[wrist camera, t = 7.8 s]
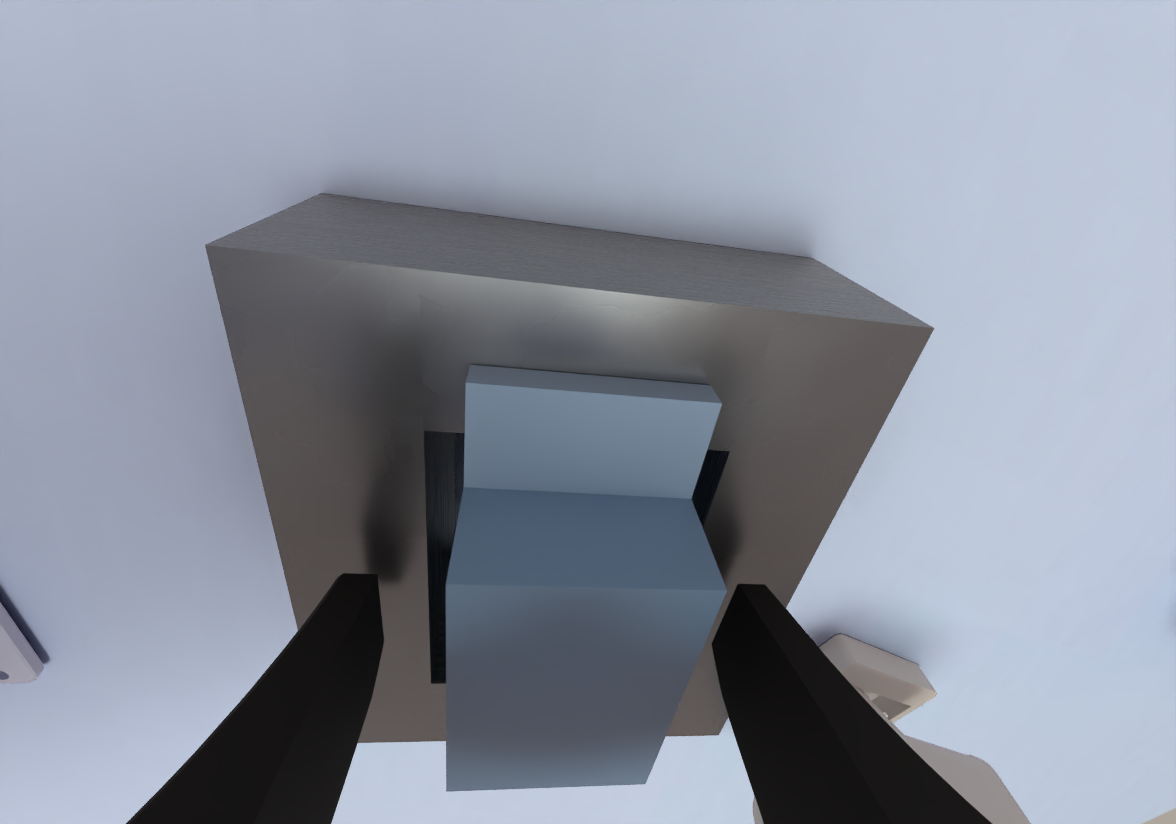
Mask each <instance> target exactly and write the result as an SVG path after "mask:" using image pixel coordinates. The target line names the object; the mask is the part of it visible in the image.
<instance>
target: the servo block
mask: <svg viewBox="0 0 1176 824" xmlns="http://www.w3.org/2000/svg"><path fill="white" fill-rule="evenodd" d="M721 406H722V402H721V401H720V399H719V397H718V396H717V394H716V393H715V391H714V389H713V388H712V386H711V385H700V384H689V383H677V382H666V381H654V380H643V379H631V378H620V377H608V376H597V375H585V374H574V373H562V372H551V371H539V370H527V369H516V368H504V367H493V366H481V365H470V367H469V371H468V375H467V379H466V392H465V441H464V488H463V493H462V499H461V504H460V509H459V515H458V520H457V526H456V531H455V537H454V542H453V547H452V553H451V558H450V564H449V569H448V575H447V580H446V791H471V790H498V789H525V788H552V787H579V786H607V785H634V784H645V783H646V781H647V779H648V776H649V774H650V772H651V769H652V767H653V765H654V762H655V760H656V758H657V755H658V753H659V750H660V748H661V746H662V743H663V741H664V739H665V736H666V734H667V732H668V729H669V727H670V724H671V722H672V720H673V717H674V715H675V713H676V710H677V708H678V706H679V703H680V701H681V698H682V696H683V694H684V691H685V689H686V687H687V684H688V682H689V680H690V677H691V675H692V673H693V670H694V668H695V665H696V663H697V661H698V658H699V656H700V654H701V651H702V649H703V647H704V644H705V642H706V639H707V637H708V635H709V632H710V630H711V628H712V625H713V623H714V621H715V618H716V616H717V613H718V611H719V609H720V606H721V604H722V602H723V599H724V597H725V595H726V592H727V589H726V586H725V584H724V581H723V579H722V576H721V574H720V571H719V568H718V566H717V563H716V561H715V558H714V556H713V553H712V551H711V548H710V545H709V543H708V540H707V538H706V535H705V533H704V530H703V527H702V525H701V522H700V520H699V517H698V515H697V512H696V510H695V507H694V504H693V502H692V499H691V498H692V495H693V492H694V489H695V486H696V483H697V480H698V477H699V474H700V471H701V467H702V464H703V461H704V458H705V455H706V452H707V449H708V446H709V443H710V440H711V437H712V433H713V430H714V427H715V424H716V421H717V418H718V415H719V412H720V409H721Z"/></svg>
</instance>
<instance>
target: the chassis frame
mask: <svg viewBox="0 0 1176 824" xmlns="http://www.w3.org/2000/svg"><path fill="white" fill-rule="evenodd" d="M205 246H206V251H207V255H208V259H209V263H210V267H211V271H212V275H213V280H214V284H215V288H216V292H217V296H218V300H219V304H220V309H221V313H222V317H223V321H224V325H225V329H226V333H227V338H228V342H229V346H230V350H231V354H232V358H233V362H234V367H235V371H236V375H237V379H238V383H239V387H240V391H241V396H242V400H243V404H244V408H245V412H246V416H247V420H248V425H249V429H250V433H251V437H252V441H253V445H254V449H255V454H256V458H257V462H258V466H259V470H260V474H261V478H262V483H263V487H264V491H265V495H266V499H267V503H268V507H269V512H270V516H271V520H272V524H273V528H274V532H275V536H276V541H277V545H278V549H279V553H280V557H281V561H282V565H283V570H284V574H285V578H286V582H287V586H288V590H289V594H290V599H291V603H292V607H293V611H294V615H295V619H296V623H297V628H298V630H299V629H300V628H301V627H302V625H303V624H304V623H305V621H306V620H307V619H308V617H309V616H310V615H311V613H312V612H313V611H314V609H315V608H316V607H317V605H318V604H319V603H320V601H321V600H322V598H323V597H324V596H325V594H326V593H327V592H328V590H329V589H330V587H331V586H332V584H333V583H334V582H335V580H336V579H337V577H339V576H340V575H341V574H343V573H355V574H377V575H378V585H379V595H380V604H381V614H382V624H383V633H384V645H383V650H382V655H381V659H380V664H379V669H378V673H377V678H376V682H375V687H374V691H373V695H372V699H371V702H370V706H369V709H368V712H367V715H366V718H365V721H364V724H363V727H362V731H361V734H360V737H359V740H358V743H372V742H419V741H446V580H447V575H448V569H449V564H450V558H451V553H452V547H453V542H454V537H455V469H456V433H465V392H466V379H467V375H468V371H469V367H470V365H481V366H493V367H504V368H516V369H527V370H539V371H551V372H562V373H574V374H585V375H597V376H608V377H620V378H631V379H643V380H654V381H666V382H677V383H689V384H700V385H711V386H712V388H713V389H714V391H715V393H716V394H717V396H718V397H719V399H720V401H721V402H722V406H721V409H720V412H719V415H718V418H717V421H716V424H715V427H714V430H713V433H712V437H711V440H710V443H709V446H708V449H707V452H706V455H705V458H704V461H703V464H702V467H701V471H700V474H699V477H698V480H697V483H696V486H695V489H694V492H693V495H692V498H691V499H692V502H693V504H694V507H695V510H696V512H697V515H698V517H699V520H700V522H701V525H702V527H703V530H704V533H705V535H706V538H707V540H708V543H709V545H710V548H711V551H712V553H713V556H714V558H715V561H716V563H717V566H718V568H719V571H720V574H721V576H722V579H723V581H724V584H725V586H726V589H727V592H726V595H725V597H724V599H723V602H722V604H721V606H720V609H719V611H718V613H717V616H716V618H715V621H714V623H713V625H712V628H711V630H710V632H709V635H708V637H707V639H706V642H705V644H704V647H703V649H702V651H701V654H700V656H699V658H698V661H697V663H696V665H695V668H694V670H693V673H692V675H691V677H690V680H689V682H688V684H687V687H686V689H685V691H684V694H683V696H682V698H681V701H680V703H679V706H678V708H677V710H676V713H675V715H674V717H673V720H672V722H671V724H670V727H669V729H668V732H667V734H666V736H704V735H719V733H720V731H721V730H722V728H723V726H724V724H725V722H726V720H727V718H728V713H727V710H726V707H725V703H724V700H723V697H722V693H721V689H720V684H719V680H718V675H717V670H716V665H715V660H714V655H713V650H712V644H711V643H712V641H713V639H714V637H715V634H716V632H717V630H718V628H719V625H720V623H721V621H722V618H723V616H724V614H725V612H726V609H727V607H728V605H729V602H730V600H731V598H732V596H733V593H734V591H735V589H736V586H737V584H765V585H766V586H767V587H768V588H769V590H770V591H771V592H772V593H773V594H774V595H775V597H776V598H777V599H778V600H779V601H780V602H781V604H782V605H783V606H784V607H785V608H786V607H787V605H788V603H789V601H790V599H791V598H792V596H793V594H794V592H795V590H796V588H797V586H798V584H799V582H800V581H801V579H802V577H803V575H804V573H805V571H806V569H807V567H808V565H809V564H810V562H811V560H812V558H813V556H814V554H815V552H816V550H817V548H818V547H819V545H820V543H821V541H822V539H823V537H824V535H825V533H826V531H827V530H828V528H829V526H830V524H831V522H832V520H833V518H834V516H835V515H836V513H837V511H838V509H839V507H840V505H841V503H842V501H843V499H844V498H845V496H846V494H847V492H848V490H849V488H850V486H851V484H852V482H853V481H854V479H855V477H856V475H857V473H858V471H859V469H860V467H861V465H862V464H863V462H864V460H865V458H866V456H867V454H868V452H869V450H870V448H871V447H872V445H873V443H874V441H875V439H876V437H877V435H878V433H879V432H880V430H881V428H882V426H883V424H884V422H885V420H886V418H887V416H888V415H889V413H890V411H891V409H892V407H893V405H894V403H895V401H896V399H897V398H898V396H899V394H900V392H901V390H902V388H903V386H904V384H905V382H906V381H907V379H908V377H909V375H910V373H911V371H912V369H913V367H914V365H915V364H916V362H917V360H918V358H919V356H920V354H921V352H922V350H923V349H924V347H925V345H926V343H927V341H928V339H929V337H930V335H931V333H932V332H933V330H934V328H933V327H931V326H930V325H928V324H926V323H924V322H923V321H921V320H919V319H917V318H916V317H914V316H912V315H911V314H909V313H907V312H905V311H904V310H902V309H900V308H898V307H897V306H895V305H893V304H892V303H890V302H888V301H886V300H885V299H883V298H881V297H879V296H878V295H876V294H874V293H872V292H871V291H869V290H867V289H866V288H864V287H862V286H860V285H859V284H857V283H855V282H853V281H852V280H850V279H848V278H847V277H845V276H843V275H841V274H840V273H838V272H836V271H834V270H833V269H831V268H829V267H827V266H826V265H824V264H822V263H821V262H819V261H817V260H815V259H814V258H806V257H799V256H791V255H784V254H776V253H768V252H761V251H753V250H746V249H738V248H731V247H723V246H715V245H708V244H700V243H693V242H685V241H678V240H670V239H662V238H655V237H647V236H640V235H632V234H625V233H617V232H609V231H602V230H594V229H587V228H579V227H572V226H564V225H556V224H549V223H541V222H534V221H526V220H519V219H511V218H504V217H496V216H488V215H481V214H473V213H466V212H458V211H451V210H443V209H435V208H428V207H420V206H413V205H405V204H398V203H390V202H382V201H375V200H367V199H360V198H352V197H345V196H337V195H329V194H322V193H321V194H319V195H316V196H314V197H312V198H310V199H307V200H305V201H303V202H301V203H298V204H296V205H294V206H292V207H289V208H287V209H285V210H283V211H280V212H278V213H276V214H274V215H271V216H269V217H267V218H265V219H263V220H260V221H258V222H256V223H254V224H251V225H249V226H247V227H245V228H242V229H240V230H238V231H236V232H233V233H231V234H229V235H227V236H224V237H222V238H220V239H218V240H215V241H213V242H211V243H209V244H206V245H205Z"/></svg>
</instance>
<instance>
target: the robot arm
mask: <svg viewBox="0 0 1176 824" xmlns="http://www.w3.org/2000/svg"><path fill="white" fill-rule="evenodd" d="M711 644H712V650H713V655H714V660H715V665H716V670H717V675H718V680H719V684H720V689H721V693H722V697H723V700H724V703H725V707H726V710H727V713H728V716H729V719H730V722H731V725H732V728H733V732H734V735H735V738H736V741H737V744H738V747H739V750H740V753H741V756H742V759H743V762H744V765H745V768H746V771H747V774H748V777H749V780H750V783H751V786H752V789H753V792H754V795H755V798H756V801H757V805H758V808H759V811H760V814H761V817H762V820H763V823H764V824H992V823H991V822H990V821H989V820H988V819H987V818H985V817H984V816H983V815H982V814H981V813H980V812H979V811H978V810H977V809H975V808H974V807H973V806H972V805H971V804H970V803H969V802H968V801H967V800H965V799H964V798H963V797H962V796H961V795H960V794H959V793H958V792H957V791H956V790H955V789H954V788H953V787H952V786H951V785H950V784H948V783H947V782H946V781H945V780H944V779H943V778H942V777H941V776H940V775H939V774H938V773H937V772H936V771H935V770H934V769H933V768H931V767H930V766H929V765H928V764H927V763H926V762H925V761H924V760H923V759H922V758H921V757H920V756H919V755H918V754H917V753H916V752H915V751H914V750H913V749H912V748H911V747H910V746H909V745H908V744H907V743H906V742H905V741H904V740H903V739H902V738H901V737H900V736H899V735H898V734H897V733H896V732H895V731H894V730H893V728H892V727H891V726H890V725H889V724H888V723H887V722H886V721H885V720H884V719H883V718H882V717H881V716H880V715H879V714H878V713H877V712H876V711H875V710H874V709H873V708H872V707H871V705H870V704H869V703H868V702H867V701H866V700H865V699H864V698H863V697H862V696H861V695H860V694H859V692H858V691H857V690H856V689H855V688H854V687H853V686H852V685H851V684H850V683H849V681H848V680H847V679H846V678H845V677H844V676H843V675H842V674H841V672H840V671H839V670H838V669H837V668H836V667H835V666H834V665H833V663H832V662H831V661H830V660H829V659H828V658H827V656H826V655H825V654H824V653H823V652H822V651H821V650H820V648H819V647H818V646H817V645H816V644H815V643H814V641H813V640H812V639H811V638H810V637H809V635H808V634H807V633H806V632H805V631H804V630H803V628H802V627H801V626H800V625H799V624H798V623H797V621H796V620H795V619H794V618H793V617H792V615H791V614H790V613H789V612H788V611H787V610H786V608H785V607H784V606H783V605H782V604H781V602H780V601H779V600H778V599H777V598H776V597H775V595H774V594H773V593H772V592H771V591H770V590H769V588H768V587H767V586H766V585H765V584H737V586H736V589H735V591H734V593H733V596H732V598H731V600H730V602H729V605H728V607H727V609H726V612H725V614H724V616H723V618H722V621H721V623H720V625H719V628H718V630H717V632H716V634H715V637H714V639H713V641H712V643H711ZM383 645H384V633H383V624H382V614H381V604H380V595H379V585H378V575H377V574H355V573H343V574H341V575H340V576H339V577H337V579H336V580H335V582H334V583H333V584H332V586H331V587H330V589H329V590H328V592H327V593H326V594H325V596H324V597H323V598H322V600H321V601H320V603H319V604H318V605H317V607H316V608H315V609H314V611H313V612H312V613H311V615H310V616H309V617H308V619H307V620H306V621H305V623H304V624H303V625H302V627H301V628H300V629H299V630H298V632H297V633H296V634H295V636H294V637H293V638H292V639H291V641H290V642H289V643H288V645H287V646H286V647H285V648H284V649H283V651H282V652H281V653H280V654H279V656H278V657H277V658H276V659H275V660H274V662H273V663H272V664H271V665H270V667H269V668H268V669H267V670H266V671H265V673H264V674H263V675H262V676H261V678H260V679H259V680H258V681H257V682H256V684H255V685H254V686H253V687H252V688H251V690H250V691H249V692H248V693H247V694H246V695H245V697H244V698H243V699H242V700H241V701H240V702H239V703H238V705H237V706H236V707H235V708H234V709H233V710H232V711H231V712H230V714H229V715H228V716H227V717H226V718H225V719H224V720H223V721H222V723H221V724H220V725H219V726H218V727H217V728H216V729H215V730H214V732H213V733H212V734H211V735H210V736H209V737H208V738H207V739H206V741H205V742H204V743H203V744H202V745H201V746H200V747H199V748H198V750H197V751H196V752H195V753H194V754H193V755H192V756H191V757H190V758H189V759H188V760H187V761H186V762H185V763H184V765H183V766H182V767H181V768H180V769H179V770H178V771H177V772H176V773H175V774H174V775H173V776H172V777H171V778H170V779H169V780H168V781H167V782H166V783H165V785H164V786H163V787H162V788H161V789H160V790H159V791H158V792H157V793H156V794H155V795H154V796H153V797H152V798H151V799H150V800H149V801H148V802H147V803H146V804H145V805H144V806H143V807H142V808H141V809H140V810H139V811H138V812H137V813H136V814H135V815H134V816H133V817H132V818H131V819H130V820H129V821H128V822H127V823H126V824H331V822H332V819H333V816H334V813H335V810H336V807H337V804H338V801H339V798H340V795H341V792H342V789H343V786H344V783H345V779H346V776H347V773H348V770H349V767H350V764H351V761H352V758H353V755H354V752H355V749H356V746H357V743H358V740H359V737H360V734H361V731H362V727H363V724H364V721H365V718H366V715H367V712H368V709H369V706H370V702H371V699H372V695H373V691H374V687H375V682H376V678H377V673H378V669H379V664H380V659H381V655H382V650H383ZM43 670H44V666H43V663H42V662H41V660H40V659H39V657H38V656H37V654H36V653H35V651H34V650H33V649H32V647H31V646H30V644H29V643H28V641H27V640H26V638H25V637H24V636H23V634H22V633H21V631H20V630H19V628H18V627H17V625H16V624H15V623H14V621H13V620H12V618H11V617H10V615H9V614H8V612H7V611H6V610H5V608H4V607H3V605H2V604H1V602H0V683H27V682H31V681H33V680H35V679H36V678H37V677H38V676H39V675H40V673H41V672H42V671H43Z"/></svg>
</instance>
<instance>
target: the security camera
mask: <svg viewBox="0 0 1176 824" xmlns="http://www.w3.org/2000/svg"><path fill="white" fill-rule="evenodd" d="M819 648H820V650H821V651H822V652H823V653H824V654H825V655H826V656H827V658H828V659H829V660H830V661H831V662H832V663H833V665H834V666H835V667H836V668H837V669H838V670H839V671H840V672H841V674H842V675H843V676H844V677H845V678H846V679H847V680H848V681H849V683H850V684H851V685H852V686H853V687H854V688H855V689H856V690H857V691H858V692H859V694H860V695H861V696H862V697H863V698H864V699H865V700H866V701H867V702H868V703H869V704H870V705H871V707H872V708H873V709H874V710H875V711H876V712H877V713H878V714H879V715H880V716H881V717H882V718H883V719H884V720H885V721H886V722H887V723H888V724H889V725H890V726H891V727H892V728H893V730H894V731H895V732H896V733H897V734H898V735H899V736H900V737H901V738H902V739H903V740H904V741H905V742H906V743H907V744H908V745H909V746H910V747H911V748H912V749H913V750H914V751H915V752H916V753H917V754H918V755H919V756H920V757H921V758H922V759H923V760H924V761H925V762H926V763H927V764H928V765H929V766H930V767H931V768H933V769H934V770H935V771H936V772H937V773H938V774H939V775H940V776H941V777H942V778H943V779H944V780H945V781H946V782H947V783H948V784H950V785H951V786H952V787H953V788H954V789H955V790H956V791H957V792H958V793H959V794H960V795H961V796H962V797H963V798H964V799H965V800H967V801H968V802H969V803H970V804H971V805H972V806H973V807H974V808H975V809H977V810H978V811H979V812H980V813H981V814H982V815H983V816H984V817H985V818H987V819H988V820H989V821H990V822H991V823H992V824H1031V823H1030V821H1029V820H1028V818H1027V817H1026V816H1025V814H1024V813H1023V811H1022V810H1021V808H1020V807H1019V805H1018V804H1017V802H1016V801H1015V799H1014V798H1013V796H1012V795H1011V794H1010V792H1009V791H1008V789H1007V788H1006V786H1005V785H1004V783H1003V782H1002V780H1001V779H1000V777H999V776H998V774H997V773H996V772H995V770H994V769H993V768H992V767H991V766H990V765H989V764H988V763H986V762H985V761H984V760H982V759H980V758H977V757H975V756H972V755H965V754H962V753H959V752H956V751H953V750H950V749H946V748H943V747H940V746H937V745H934V744H931V743H928V742H925V741H922V740H918V739H915V738H912V737H909V736H906V735H904V734H903V733H902V732H901V731H900V730H899V729H898V728H897V727H896V726H895V725H894V724H893V723H892V722H895V721H897V720H899V719H900V718H902V717H903V716H905V715H907V714H908V713H910V712H911V711H913V710H915V709H916V708H918V707H919V706H921V705H923V704H924V703H926V702H927V701H929V700H931V699H932V698H934V697H935V696H936V695H937V693H936V691H935V690H934V688H933V687H932V685H931V684H930V682H929V681H928V679H927V678H926V676H925V675H924V673H923V672H922V670H921V669H920V667H919V666H918V665H917V664H915V663H912V662H910V661H907V660H905V659H902V658H900V657H898V656H895V655H893V654H890V653H888V652H885V651H883V650H880V649H878V648H875V647H873V646H870V645H868V644H866V643H863V642H861V641H858V640H856V639H853V638H851V637H848V636H846V635H843V634H838V635H835V636H834V637H832V638H831V639H829V640H828V641H827V642H826V643H824V644H823V645H822V646H820V647H819ZM886 715H888V717H886ZM753 816H754V821H755V824H764V823H763V820H762V817H761V814H760V811H759V808H758V805H757V801H756V798H755V797H754V801H753Z"/></svg>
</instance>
